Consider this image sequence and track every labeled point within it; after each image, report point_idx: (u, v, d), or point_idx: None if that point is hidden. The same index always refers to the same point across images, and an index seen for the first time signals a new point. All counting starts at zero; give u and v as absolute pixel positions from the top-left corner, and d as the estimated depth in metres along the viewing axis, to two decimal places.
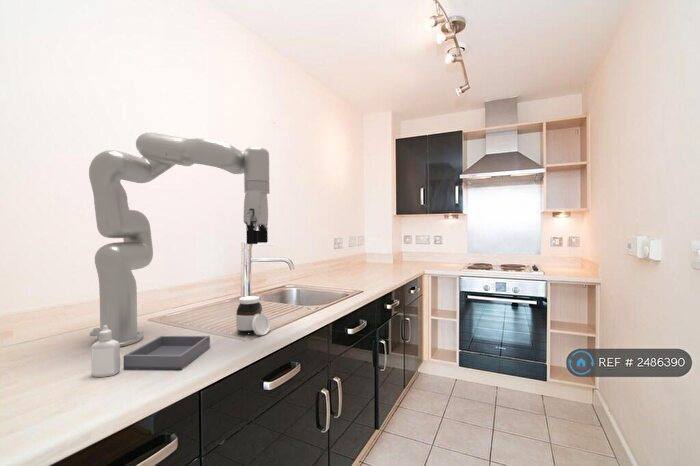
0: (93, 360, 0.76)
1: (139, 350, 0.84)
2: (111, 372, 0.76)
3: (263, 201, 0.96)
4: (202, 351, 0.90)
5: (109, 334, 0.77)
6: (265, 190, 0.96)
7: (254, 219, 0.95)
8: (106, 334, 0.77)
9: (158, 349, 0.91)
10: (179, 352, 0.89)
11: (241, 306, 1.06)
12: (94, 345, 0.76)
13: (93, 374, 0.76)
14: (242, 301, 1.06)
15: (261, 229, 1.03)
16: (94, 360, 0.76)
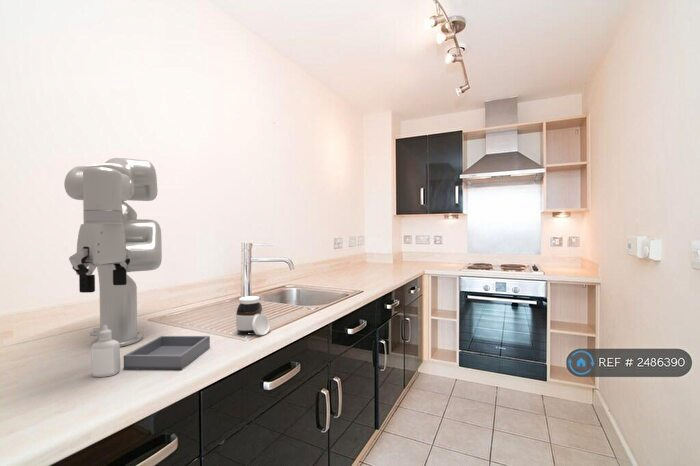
0: (93, 360, 0.76)
1: (139, 350, 0.84)
2: (111, 372, 0.76)
3: (109, 236, 0.76)
4: (202, 351, 0.90)
5: (109, 334, 0.77)
6: (110, 222, 0.75)
7: None
8: (106, 334, 0.77)
9: (158, 349, 0.91)
10: (179, 352, 0.89)
11: (241, 306, 1.06)
12: (94, 345, 0.76)
13: (93, 374, 0.76)
14: (242, 301, 1.06)
15: (118, 268, 0.82)
16: (94, 360, 0.76)
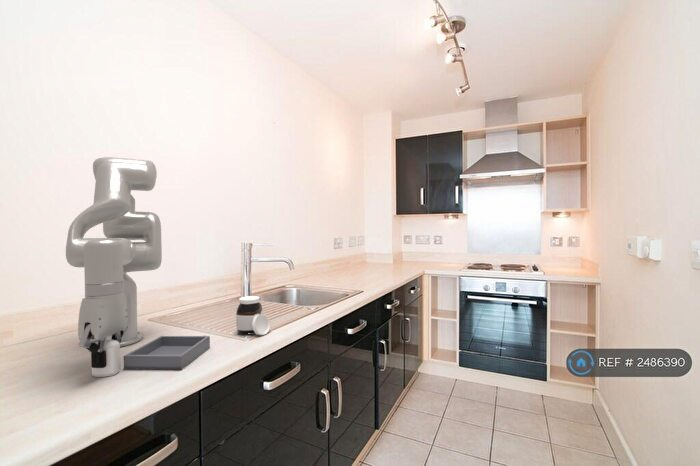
0: None
1: (139, 350, 0.84)
2: (111, 372, 0.76)
3: (110, 308, 0.76)
4: (202, 351, 0.90)
5: None
6: (111, 294, 0.75)
7: None
8: None
9: (158, 349, 0.91)
10: (179, 352, 0.89)
11: (241, 306, 1.06)
12: None
13: (93, 374, 0.76)
14: (242, 301, 1.06)
15: None
16: None
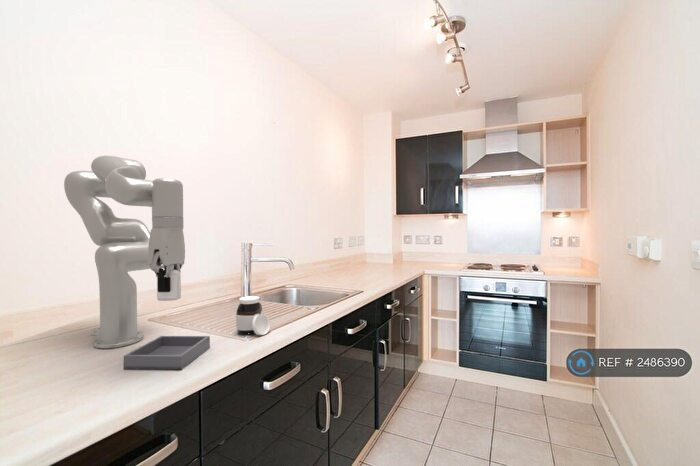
0: None
1: (139, 350, 0.84)
2: (175, 297, 0.86)
3: (174, 239, 0.85)
4: (202, 351, 0.90)
5: None
6: (175, 227, 0.85)
7: None
8: None
9: (158, 349, 0.91)
10: (179, 352, 0.89)
11: (241, 306, 1.06)
12: None
13: (159, 298, 0.85)
14: (242, 301, 1.06)
15: None
16: None
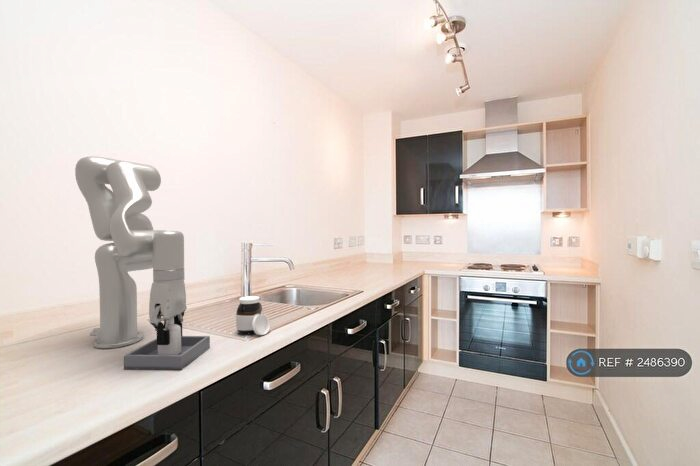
0: None
1: (139, 350, 0.84)
2: (175, 352, 0.86)
3: (175, 292, 0.85)
4: (202, 351, 0.90)
5: (172, 319, 0.87)
6: (176, 279, 0.85)
7: None
8: (170, 319, 0.86)
9: None
10: None
11: (241, 306, 1.06)
12: None
13: (159, 354, 0.85)
14: (242, 301, 1.06)
15: (174, 321, 0.90)
16: None
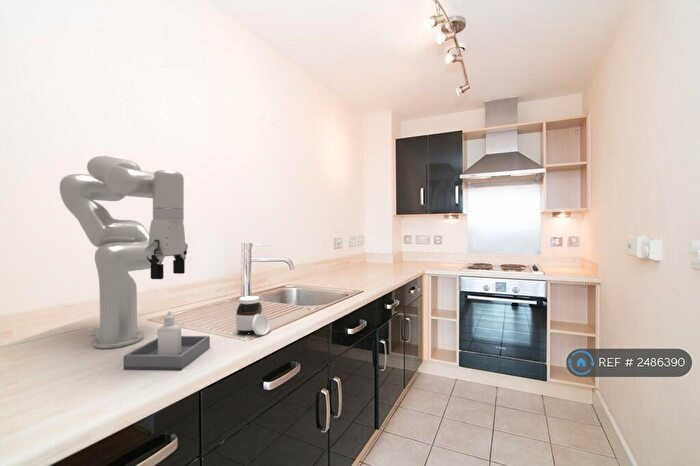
0: (159, 342, 0.85)
1: (139, 350, 0.84)
2: (175, 352, 0.86)
3: (174, 231, 0.87)
4: (202, 351, 0.90)
5: (172, 319, 0.87)
6: (175, 218, 0.86)
7: (161, 251, 0.85)
8: (171, 319, 0.86)
9: None
10: None
11: (241, 306, 1.06)
12: (160, 329, 0.86)
13: (159, 354, 0.85)
14: (242, 301, 1.06)
15: (177, 259, 0.93)
16: (160, 342, 0.85)
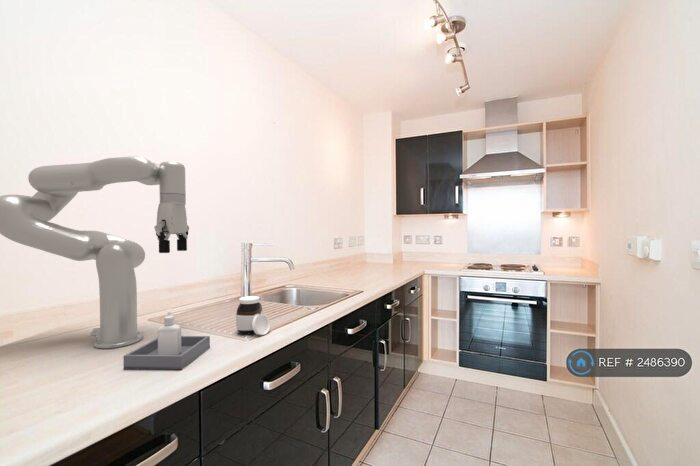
0: (159, 342, 0.85)
1: (139, 350, 0.84)
2: (175, 352, 0.86)
3: (178, 212, 1.02)
4: (202, 351, 0.90)
5: (172, 319, 0.87)
6: (179, 202, 1.02)
7: (167, 229, 1.01)
8: (171, 319, 0.86)
9: None
10: None
11: (241, 306, 1.06)
12: (160, 329, 0.86)
13: (159, 354, 0.85)
14: (242, 301, 1.06)
15: (180, 238, 1.09)
16: (160, 342, 0.85)
